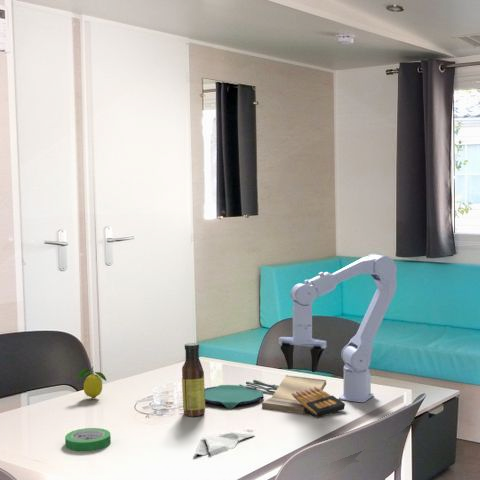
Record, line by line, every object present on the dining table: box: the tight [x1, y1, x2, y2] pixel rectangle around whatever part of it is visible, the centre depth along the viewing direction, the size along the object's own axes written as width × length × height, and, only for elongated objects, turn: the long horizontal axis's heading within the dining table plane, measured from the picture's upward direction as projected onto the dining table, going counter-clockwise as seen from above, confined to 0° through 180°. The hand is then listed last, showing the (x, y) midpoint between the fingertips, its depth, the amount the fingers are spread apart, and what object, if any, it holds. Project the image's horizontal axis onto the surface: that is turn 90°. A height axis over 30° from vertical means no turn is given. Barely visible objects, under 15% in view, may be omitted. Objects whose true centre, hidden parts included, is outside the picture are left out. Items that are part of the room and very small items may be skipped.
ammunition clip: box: [292, 387, 346, 419], centre depth 222 cm, size 11×2×12 cm
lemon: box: [77, 365, 107, 400], centre depth 234 cm, size 7×6×10 cm
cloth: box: [192, 429, 255, 460], centre depth 195 cm, size 26×14×2 cm, turn 134°
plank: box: [271, 374, 327, 401], centre depth 232 cm, size 11×13×2 cm
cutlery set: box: [205, 379, 279, 410], centre depth 238 cm, size 20×30×2 cm, turn 136°
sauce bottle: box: [181, 342, 206, 417], centre depth 219 cm, size 7×6×20 cm
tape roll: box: [64, 427, 112, 452], centre depth 194 cm, size 11×11×3 cm
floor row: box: [261, 396, 309, 415], centre depth 224 cm, size 6×13×2 cm, turn 62°
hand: (302, 370), depth 231 cm, fingers open, 7 cm apart
